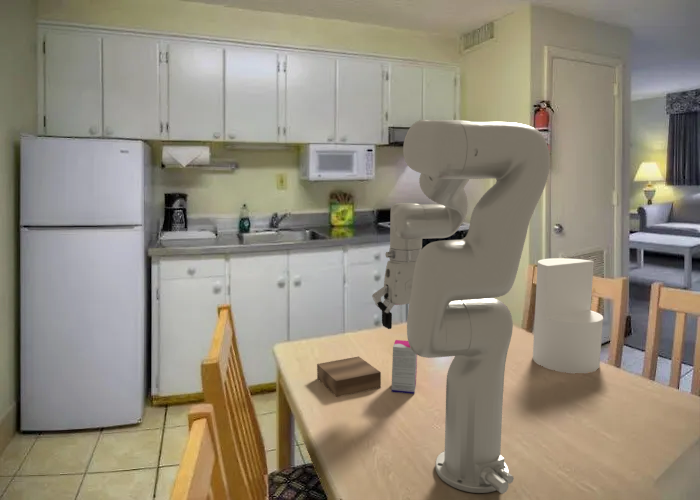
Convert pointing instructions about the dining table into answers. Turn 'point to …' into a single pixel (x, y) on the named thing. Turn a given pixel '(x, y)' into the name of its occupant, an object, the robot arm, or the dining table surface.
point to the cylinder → (566, 317)
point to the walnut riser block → (348, 376)
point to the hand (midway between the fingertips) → (404, 324)
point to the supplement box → (403, 368)
